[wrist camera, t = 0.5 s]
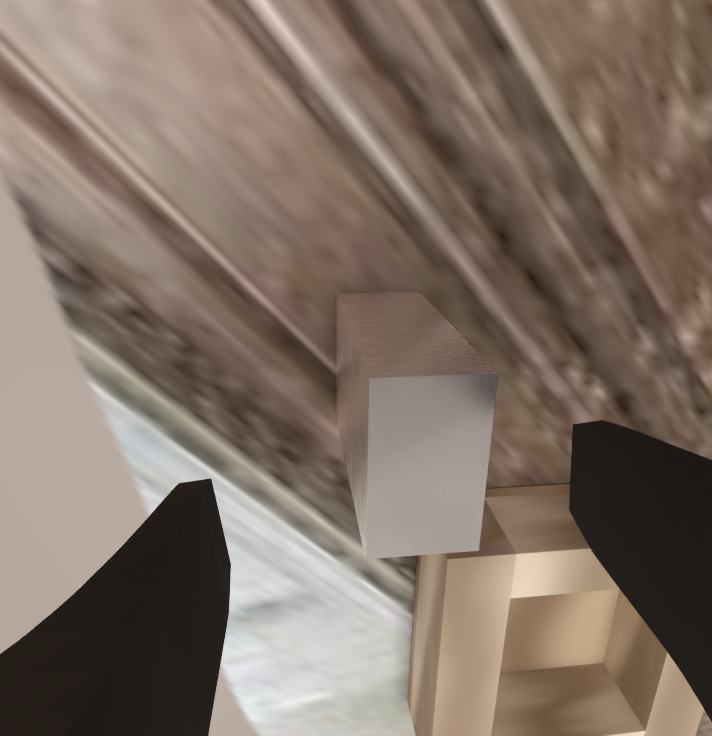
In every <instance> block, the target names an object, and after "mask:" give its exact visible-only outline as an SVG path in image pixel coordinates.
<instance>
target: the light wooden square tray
mask: <svg viewBox="0 0 712 736" xmlns="http://www.w3.org/2000/svg"><path fill="white" fill-rule="evenodd" d="M569 497H570V484H558V485H542V486H525V487H509V488H493V489H486V490H485V499H484V508H483V517H482V527H481V536H480V545H479V551H469V552H455V553H442V554H428V555H417V562H416V578H415V594H414V610H413V626H412V642H411V658H410V674H409V690H408V704H409V709H410V713H411V717H412V722H413V726H414V730H415V735H416V736H695V735H696V732H697V729H698V726H699V723H700V720H701V717H702V714H703V710H704V708H703V707H702V705H701V703H700V702H699V700H698V698H697V697H696V695H695V694H694V692H693V690H692V689H691V687H690V685H689V684H688V682H687V681H686V679H685V677H684V676H683V674H682V673H681V671H680V670H679V668H678V667H677V665H676V664H675V662H674V661H673V660H672V658H671V657H670V655H669V654H668V652H667V651H666V650H665V648H664V647H663V645H662V644H661V643H660V641H659V640H658V639H657V638H656V636H655V635H654V634H653V632H652V631H651V630H650V628H649V627H648V626H647V624H646V623H645V622H644V620H643V619H642V618H641V616H640V615H639V614H638V613H637V611H636V610H635V609H634V607H633V606H632V605H631V603H630V602H629V601H628V599H627V598H626V597H625V595H624V594H623V593H622V591H621V590H620V589H619V587H618V586H617V585H616V584H615V582H614V581H613V579H612V578H611V577H610V575H609V574H608V573H607V571H606V570H605V569H604V567H603V566H602V565H601V563H600V562H599V561H598V559H597V558H596V556H595V555H594V554H593V552H592V551H591V549H590V547H589V545H588V544H587V542H586V540H585V539H584V537H583V535H582V533H581V532H580V530H579V528H578V526H577V524H576V522H575V520H574V518H573V517H572V515H571V513H570V511H569Z"/></svg>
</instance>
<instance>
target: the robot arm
mask: <svg viewBox="0 0 712 736" xmlns="http://www.w3.org/2000/svg"><path fill="white" fill-rule="evenodd" d="M569 511H570V513H571V515H572V517H573V518H574V520H575V522H576V524H577V526H578V528H579V530H580V532H581V533H582V535H583V537H584V539H585V540H586V542H587V544H588V545H589V547H590V549H591V551H592V552H593V554H594V555H595V556H596V558H597V559H598V561H599V562H600V563H601V565H602V566H603V567H604V569H605V570H606V571H607V573H608V574H609V575H610V577H611V578H612V579H613V581H614V582H615V584H616V585H617V586H618V587H619V589H620V590H621V591H622V593H623V594H624V595H625V597H626V598H627V599H628V601H629V602H630V603H631V605H632V606H633V607H634V609H635V610H636V611H637V613H638V614H639V615H640V616H641V618H642V619H643V620H644V622H645V623H646V624H647V626H648V627H649V628H650V630H651V631H652V632H653V634H654V635H655V636H656V638H657V639H658V640H659V641H660V643H661V644H662V645H663V647H664V648H665V650H666V651H667V652H668V654H669V655H670V657H671V658H672V660H673V661H674V662H675V664H676V665H677V667H678V668H679V670H680V671H681V673H682V674H683V676H684V677H685V679H686V681H687V682H688V684H689V685H690V687H691V689H692V690H693V692H694V694H695V695H696V697H697V698H698V700H699V702H700V703H701V705H702V707H703V708H704V710H705V711H706V713H707V715H708V716H709V718H710V720H711V721H712V460H710V459H708V458H705V457H702V456H699V455H697V454H694V453H692V452H689V451H686V450H684V449H681V448H679V447H676V446H673V445H671V444H668V443H666V442H663V441H661V440H658V439H655V438H653V437H650V436H648V435H645V434H642V433H640V432H637V431H634V430H632V429H629V428H626V427H623V426H620V425H617V424H614V423H611V422H607V421H604V420H600V421H593V422H587V423H580V424H573V435H572V456H571V476H570V497H569ZM230 570H231V563H230V559H229V554H228V550H227V546H226V541H225V537H224V533H223V528H222V524H221V520H220V515H219V511H218V506H217V502H216V498H215V493H214V489H213V485H212V480H211V479H205V480H198V481H192V482H185V483H179V484H178V485H177V486H176V487H175V488H174V489H173V490H172V491H171V492H170V493H169V495H168V496H167V497H166V498H165V499H164V500H163V501H162V503H161V504H160V505H159V506H158V507H157V508H156V509H155V511H154V512H153V513H152V514H151V515H150V516H149V517H148V518H147V520H146V521H145V522H144V523H143V524H142V525H141V526H140V527H139V528H138V529H137V531H136V532H135V533H134V534H133V535H132V536H131V537H130V538H129V539H128V540H127V542H126V543H125V544H124V545H123V546H122V547H121V548H120V549H119V550H118V551H117V552H116V553H115V554H114V555H113V556H112V557H111V558H110V559H109V560H108V561H107V562H106V563H105V564H104V565H103V566H102V567H101V568H100V569H99V570H98V571H97V572H96V573H95V574H94V575H93V576H92V577H91V578H90V579H89V580H88V581H87V582H86V583H85V584H84V585H83V586H82V587H81V588H80V589H79V590H78V591H76V592H75V593H74V594H73V595H72V596H71V597H70V598H69V599H68V600H67V601H65V602H64V603H63V604H62V605H61V606H60V607H59V608H58V609H57V610H55V611H54V612H53V613H52V614H51V615H49V616H48V617H47V618H46V619H44V620H43V621H42V622H41V623H40V624H38V625H37V626H36V627H35V628H34V629H33V630H31V631H30V632H29V633H28V634H27V635H25V636H24V637H23V638H21V639H20V640H19V641H17V642H16V643H15V644H13V645H12V646H11V647H9V648H8V649H7V650H5V651H4V652H3V653H1V654H0V736H208V733H209V727H210V721H211V715H212V709H213V704H214V697H215V692H216V686H217V680H218V674H219V669H220V663H221V657H222V651H223V645H224V639H225V633H226V627H227V620H228V614H229V597H230Z"/></svg>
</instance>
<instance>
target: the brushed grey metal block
mask: <svg viewBox="0 0 712 736" xmlns="http://www.w3.org/2000/svg"><path fill="white" fill-rule="evenodd" d="M497 381H498V373H497V372H496V371H495V370H494V369H493V367H492V366H491V365H490V364H489V363H488V362H487V361H486V360H485V359H484V358H483V357H482V356H481V355H480V354H479V353H478V352H477V351H476V350H475V349H474V348H473V347H472V346H471V345H470V344H469V343H468V342H467V341H466V339H465V338H464V337H463V336H462V335H461V334H460V333H459V332H458V331H457V330H456V329H455V328H454V327H453V326H452V325H451V324H450V323H449V322H448V321H447V320H446V319H445V318H444V317H443V316H442V315H441V314H440V313H439V312H438V310H437V309H436V308H435V307H434V306H433V305H432V304H431V303H430V302H429V301H428V300H427V299H426V298H425V297H424V296H423V295H422V294H421V293H420V292H383V293H337V424H338V429H339V434H340V439H341V444H342V448H343V453H344V458H345V463H346V468H347V473H348V477H349V482H350V487H351V492H352V497H353V501H354V506H355V511H356V516H357V521H358V525H359V530H360V535H361V540H362V545H363V549H364V554H365V559H375V558H388V557H401V556H415V555H428V554H442V553H455V552H469V551H479V545H480V536H481V527H482V517H483V508H484V499H485V490H486V481H487V472H488V463H489V454H490V444H491V435H492V426H493V417H494V408H495V399H496V390H497Z"/></svg>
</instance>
